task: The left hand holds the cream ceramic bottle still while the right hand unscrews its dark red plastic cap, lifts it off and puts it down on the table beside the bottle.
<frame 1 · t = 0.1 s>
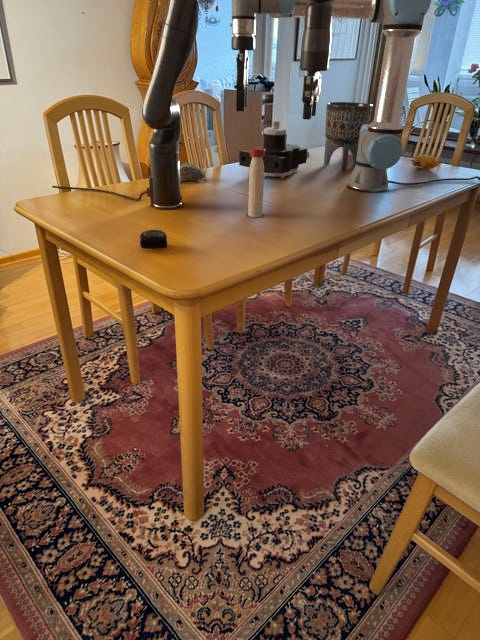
left hand: (309, 117, 126), 29 cm above the table, tool pointing down, fingers open, 8 cm apart
right hand: (241, 109, 155), 28 cm above the table, tool pointing down, fingers open, 13 cm apart
planter: (341, 167, 211), on the table
bottle: (255, 215, 144), on the table
figurine: (354, 154, 238), on the table
mechanical component: (280, 173, 196), on the table
tape measure: (155, 248, 118), on the table
toy: (423, 168, 212), on the table
cap: (257, 149, 134), point 20 cm above the table, screwed on, not yet turned
rock: (190, 181, 182), on the table
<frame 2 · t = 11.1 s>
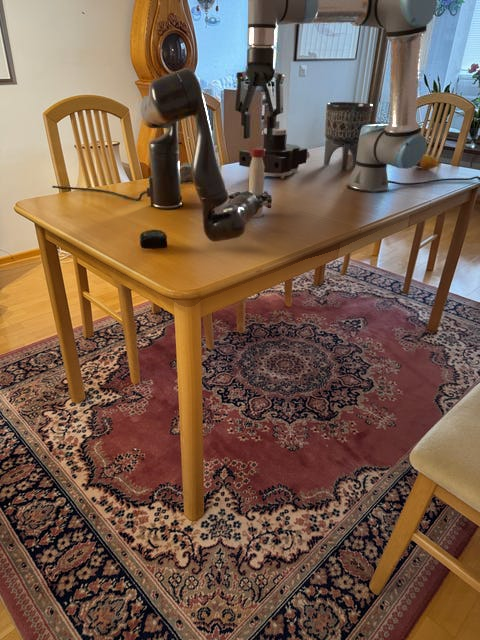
left hand: (257, 193, 143), 6 cm above the table, tool horizontal, fingers closed on bottle, 4 cm apart
right hand: (257, 139, 133), 23 cm above the table, tool pointing down, fingers open, 7 cm apart
bottle: (255, 215, 144), on the table, touching left hand
everything else where it was.
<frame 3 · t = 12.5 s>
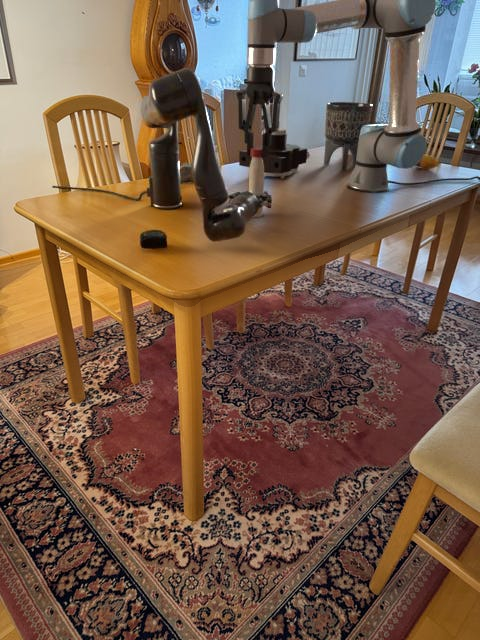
left hand: (257, 193, 143), 6 cm above the table, tool horizontal, fingers closed on bottle, 4 cm apart
right hand: (257, 156, 135), 18 cm above the table, tool pointing down, fingers closed on cap, 4 cm apart
bottle: (255, 215, 144), on the table, touching left hand
cap: (257, 149, 134), point 20 cm above the table, screwed on, not yet turned, touching right hand
everything else where it was.
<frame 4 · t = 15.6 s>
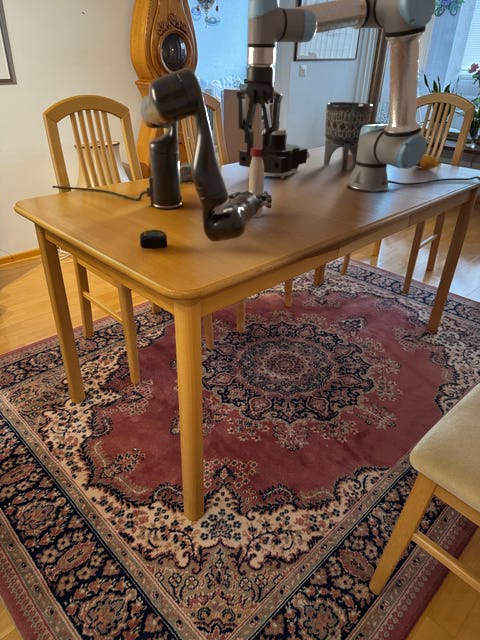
left hand: (257, 193, 143), 6 cm above the table, tool horizontal, fingers closed on bottle, 4 cm apart
right hand: (257, 155, 135), 18 cm above the table, tool pointing down, fingers closed on cap, 4 cm apart
bottle: (255, 215, 144), on the table, touching left hand
cap: (257, 149, 134), point 20 cm above the table, turned 101° so far, risen 0.1 cm, still on its thread, touching right hand
everything else where it was.
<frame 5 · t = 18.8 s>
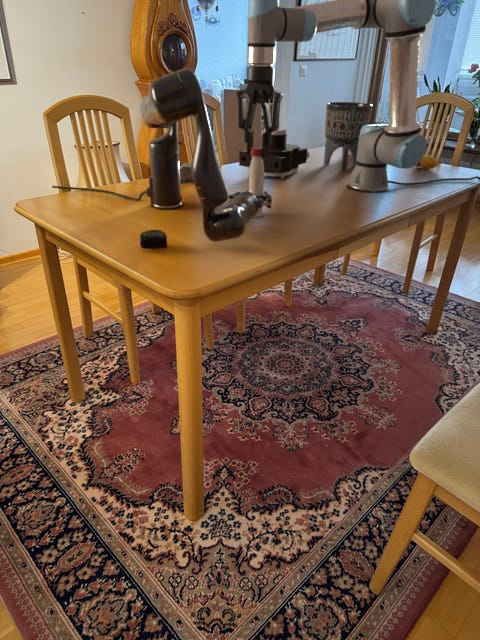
left hand: (257, 193, 143), 6 cm above the table, tool horizontal, fingers closed on bottle, 4 cm apart
right hand: (257, 155, 135), 18 cm above the table, tool pointing down, fingers closed on cap, 4 cm apart
bottle: (255, 215, 144), on the table, touching left hand
cap: (257, 148, 134), point 20 cm above the table, turned 202° so far, risen 0.2 cm, still on its thread, touching right hand
everything else where it was.
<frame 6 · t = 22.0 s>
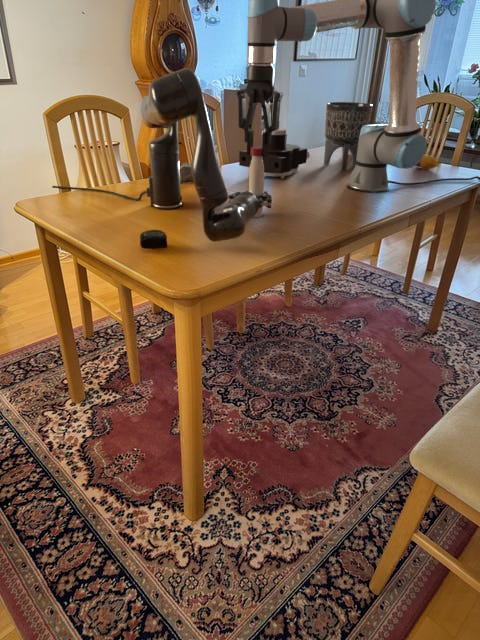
left hand: (257, 193, 143), 6 cm above the table, tool horizontal, fingers closed on bottle, 4 cm apart
right hand: (257, 154, 135), 18 cm above the table, tool pointing down, fingers closed on cap, 4 cm apart
bottle: (255, 215, 144), on the table, touching left hand
cap: (257, 148, 134), point 20 cm above the table, turned 303° so far, risen 0.3 cm, still on its thread, touching right hand
everything else where it was.
when the right hand's fingers open (1 cm above the table, at t = 28.2 s): cap drops 1 cm, point 2 cm above the table.
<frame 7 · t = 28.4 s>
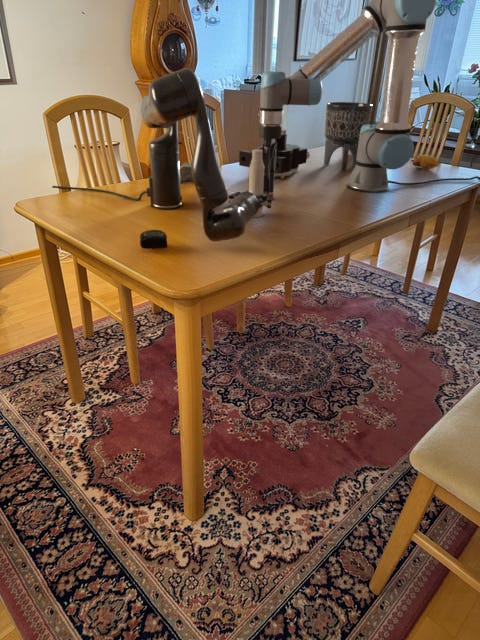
left hand: (257, 193, 143), 6 cm above the table, tool horizontal, fingers closed on bottle, 4 cm apart
right hand: (267, 194, 160), 2 cm above the table, tool pointing down, fingers open, 7 cm apart
bottle: (255, 215, 144), on the table, touching left hand
cap: (267, 193, 160), point 2 cm above the table, off its thread
everything else where it was.
when the left hand's fingers open (6 cm above the table, at t = 29.4 s): bottle stays where it is, on the table.
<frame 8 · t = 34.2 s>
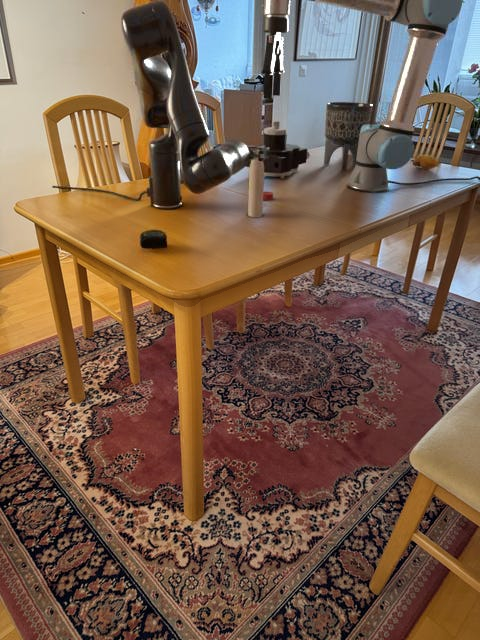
left hand: (248, 147, 125), 22 cm above the table, tool horizontal, fingers open, 8 cm apart
right hand: (272, 97, 144), 33 cm above the table, tool pointing down, fingers open, 13 cm apart
bottle: (255, 215, 144), on the table
everything else where it was.
at the end: cap came off its thread; cap point 1.8 cm above the table; the left hand is holding nothing; the right hand is holding nothing; bottle tilted 0°; bottle moved 0.0 cm from its start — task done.
